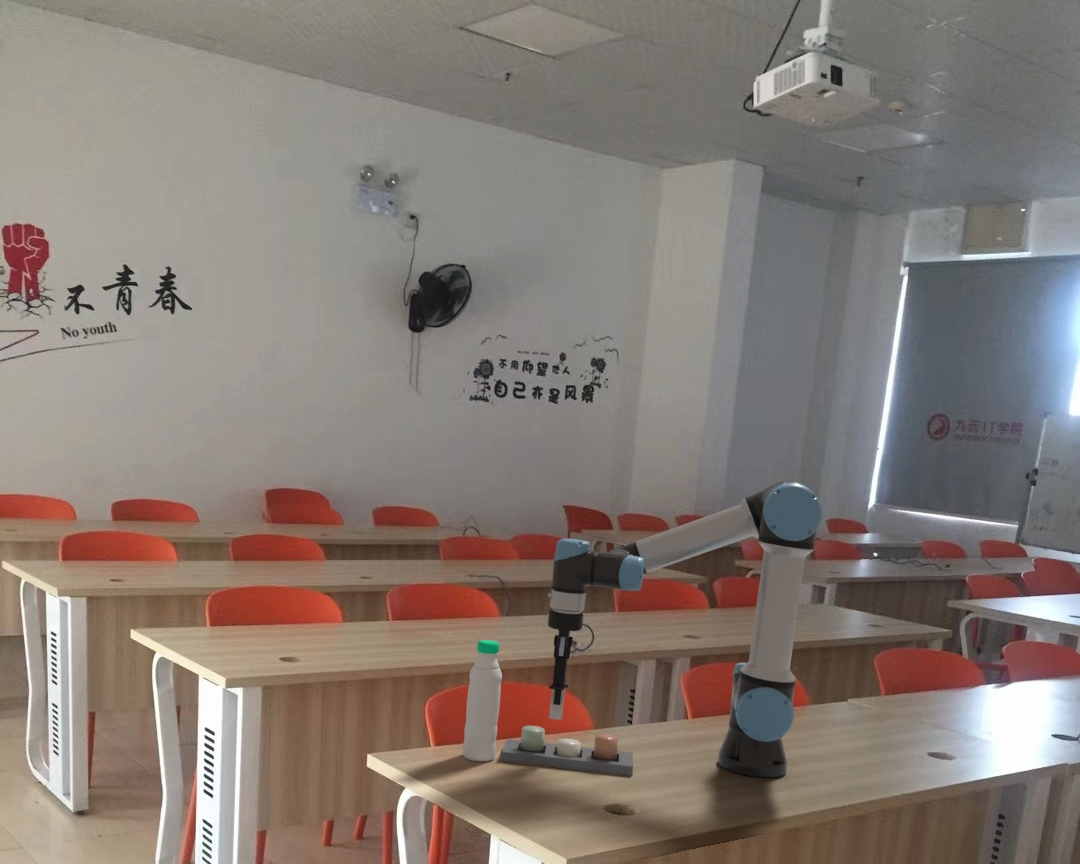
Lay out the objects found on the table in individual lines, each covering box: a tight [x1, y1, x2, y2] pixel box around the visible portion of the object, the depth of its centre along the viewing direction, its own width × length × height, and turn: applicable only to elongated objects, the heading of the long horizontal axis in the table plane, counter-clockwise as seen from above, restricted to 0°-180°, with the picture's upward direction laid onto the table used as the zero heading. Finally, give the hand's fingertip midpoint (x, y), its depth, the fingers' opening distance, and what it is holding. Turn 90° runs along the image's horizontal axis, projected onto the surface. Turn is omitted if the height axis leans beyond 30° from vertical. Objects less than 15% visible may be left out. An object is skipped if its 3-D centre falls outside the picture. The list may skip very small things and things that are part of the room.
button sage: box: [520, 725, 546, 751], centre depth 231 cm, size 5×5×4 cm
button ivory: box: [557, 738, 582, 758], centre depth 230 cm, size 5×5×4 cm
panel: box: [500, 738, 634, 777], centre depth 230 cm, size 28×10×2 cm, turn 85°
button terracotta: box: [593, 733, 619, 759], centre depth 229 cm, size 5×5×4 cm
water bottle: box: [462, 639, 503, 763], centre depth 228 cm, size 7×7×25 cm
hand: (555, 718), depth 230 cm, fingers closed
